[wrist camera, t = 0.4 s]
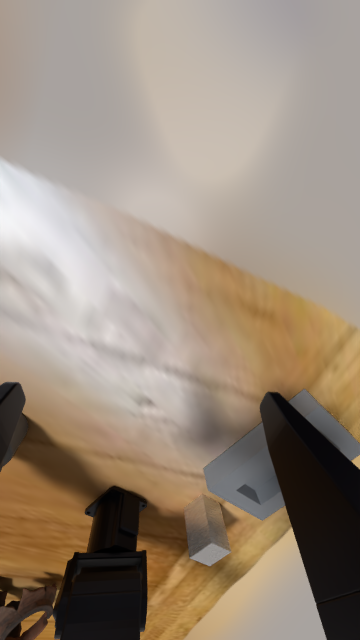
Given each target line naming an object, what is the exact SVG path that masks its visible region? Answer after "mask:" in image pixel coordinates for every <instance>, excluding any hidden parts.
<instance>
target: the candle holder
mask: <svg viewBox="0 0 360 640" xmlns="http://www.w3.org/2000/svg"><path fill="white" fill-rule="evenodd" d="M27 430H28V423H27V419H26V418H25V417H24V416H23V414H22V413H21V416H20V418H19V421H18V424H17V427H16V429H15V432H14V435H13V438H12V440H11V443H10V445H9V448H8V450H7V452H6V455H5V457H4V459H3V461H2V463H1V465H0V472H1V469H2V467H3V466H4V465H6V464H7V463H8V462H9V461H10V460H11V459H12V457H13V455H14V454H15V452H16V450H17V449H18V447H19V445H20V444H21V442H22V440H23V439H24V437H25V435H26V433H27Z"/></svg>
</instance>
